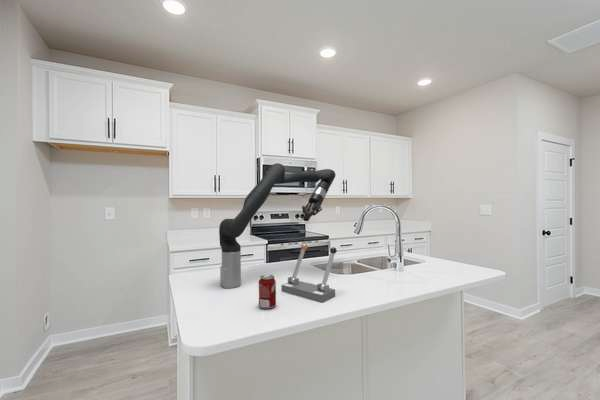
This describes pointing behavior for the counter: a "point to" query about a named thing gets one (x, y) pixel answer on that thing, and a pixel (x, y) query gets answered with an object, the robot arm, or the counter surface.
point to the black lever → (328, 268)
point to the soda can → (267, 292)
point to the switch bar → (308, 290)
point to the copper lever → (298, 263)
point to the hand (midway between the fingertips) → (305, 220)
